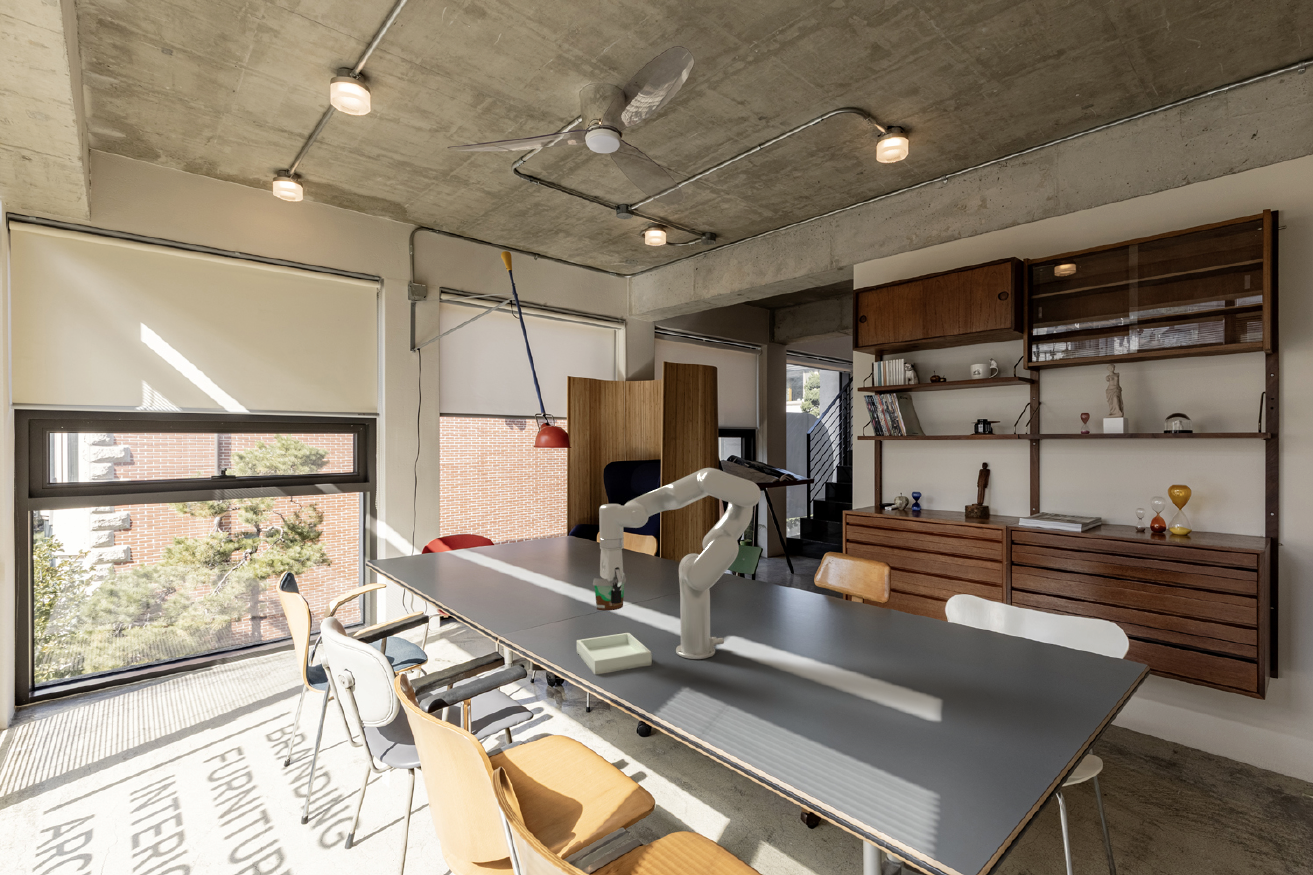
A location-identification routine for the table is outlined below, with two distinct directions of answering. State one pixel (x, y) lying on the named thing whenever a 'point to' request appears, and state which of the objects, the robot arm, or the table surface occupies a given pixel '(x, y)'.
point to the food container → (607, 594)
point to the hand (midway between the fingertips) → (612, 599)
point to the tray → (613, 653)
